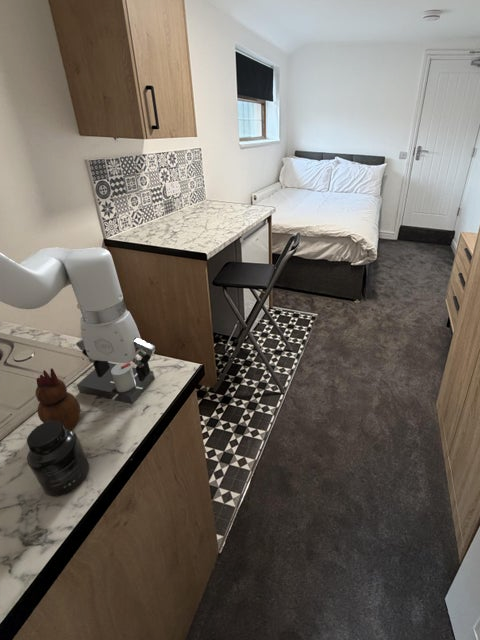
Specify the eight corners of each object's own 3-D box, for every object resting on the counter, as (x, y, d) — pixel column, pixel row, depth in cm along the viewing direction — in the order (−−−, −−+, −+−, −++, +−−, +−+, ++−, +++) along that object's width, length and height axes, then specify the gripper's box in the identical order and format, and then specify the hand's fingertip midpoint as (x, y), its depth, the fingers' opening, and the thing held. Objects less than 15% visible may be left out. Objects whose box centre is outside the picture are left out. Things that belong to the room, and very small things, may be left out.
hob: (73, 398, 73) (70, 389, 72) (105, 369, 81) (103, 360, 80) (131, 411, 70) (129, 402, 69) (159, 379, 78) (157, 371, 77)
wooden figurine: (90, 418, 68) (69, 363, 62) (63, 442, 63) (37, 384, 57) (67, 409, 70) (44, 354, 64) (40, 430, 65) (12, 374, 59)
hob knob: (120, 395, 71) (114, 376, 68) (113, 385, 73) (107, 367, 71) (138, 385, 73) (133, 367, 71) (131, 376, 76) (126, 358, 73)
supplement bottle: (39, 479, 57) (14, 432, 52) (83, 452, 61) (64, 407, 56) (49, 508, 53) (23, 461, 47) (96, 477, 57) (76, 431, 52)
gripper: (49, 316, 62) (76, 383, 70) (133, 323, 60) (152, 391, 68) (78, 297, 69) (100, 360, 76) (155, 302, 67) (169, 366, 74)
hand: (124, 374), depth 72 cm, fingers open, 9 cm apart
